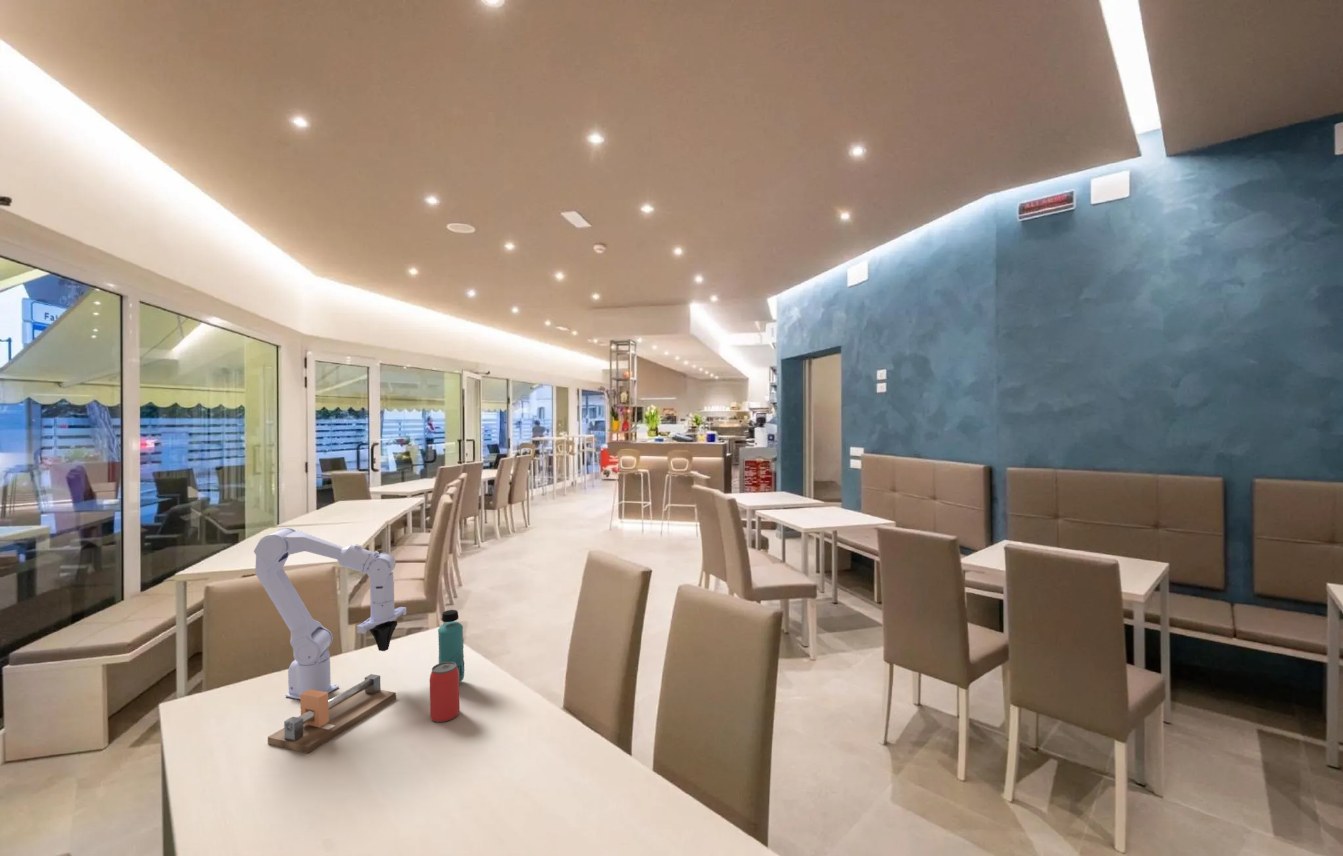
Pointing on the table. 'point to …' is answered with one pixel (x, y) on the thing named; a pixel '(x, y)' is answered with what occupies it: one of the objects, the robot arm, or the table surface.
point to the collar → (315, 706)
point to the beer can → (444, 692)
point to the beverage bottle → (451, 641)
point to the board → (335, 721)
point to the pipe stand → (330, 706)
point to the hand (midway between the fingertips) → (383, 649)
